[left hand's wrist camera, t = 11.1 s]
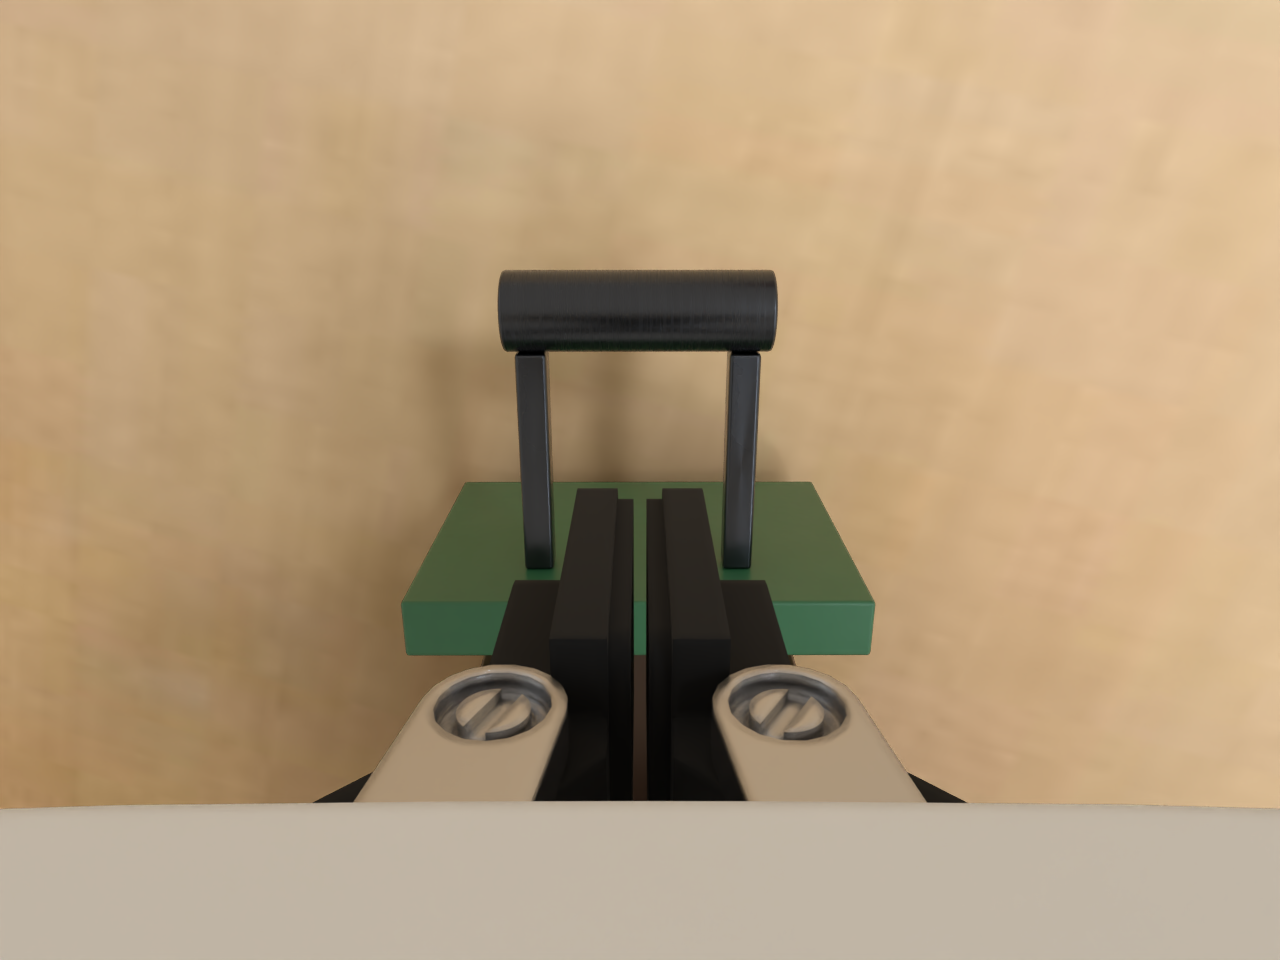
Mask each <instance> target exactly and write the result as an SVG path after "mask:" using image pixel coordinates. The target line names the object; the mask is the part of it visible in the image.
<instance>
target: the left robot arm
mask: <svg viewBox="0 0 1280 960" xmlns="http://www.w3.org/2000/svg"><path fill="white" fill-rule="evenodd" d="M633 744H634V499H618V488H578V489H577V493H576V498H575V503H574V509H573V514H572V519H571V525H570V530H569V535H568V541H567V546H566V551H565V557H564V562H563V567H562V573H561V578H560V580H515V581H514V583H513V586H512V589H511V593H510V596H509V600H508V603H507V606H506V610H505V613H504V617H503V620H502V623H501V627H500V630H499V633H498V637H497V640H496V644H495V647H494V650H493V654H492V657H491V661H490V664H489V666H483V667H477V668H471V669H468V670H465V671H462V672H460V673H457V674H454V675H451V676H449V677H448V678H446V679H444V680H443V681H441V682H439V683H438V684H436V685H434V686H433V687H432V688H431V689H430V690H429V691H428V692H427V694H426V695H425V696H424V697H423V698H422V699H421V701H420V702H419V704H418V705H417V707H416V708H415V710H414V711H413V713H412V714H411V716H410V717H409V719H408V720H407V722H406V723H405V725H404V726H403V728H402V729H401V731H400V732H399V734H398V735H397V737H396V738H395V740H394V741H393V743H392V744H391V746H390V747H389V749H388V750H387V752H386V753H385V755H384V756H383V758H382V760H381V761H380V763H379V764H378V766H377V767H376V769H375V770H374V772H372V773H370V774H368V775H366V776H364V777H362V778H360V779H358V780H356V781H354V782H352V783H351V784H349V785H347V786H345V787H343V788H341V789H339V790H337V791H335V792H333V793H331V794H329V795H327V796H325V797H323V798H321V799H319V800H317V801H315V802H313V803H272V804H180V805H110V806H78V807H46V808H15V809H0V960H1280V809H1271V808H1234V807H1197V806H1160V805H1124V804H1012V803H967V802H965V801H963V800H961V799H959V798H957V797H955V796H953V795H951V794H949V793H947V792H945V791H943V790H941V789H939V788H937V787H935V786H933V785H931V784H929V783H928V782H926V781H924V780H922V779H920V778H918V777H916V776H914V775H912V774H910V773H908V772H906V770H905V769H904V767H903V766H902V764H901V763H900V761H899V760H898V758H897V756H896V755H895V753H894V752H893V750H892V749H891V747H890V746H889V744H888V743H887V741H886V740H885V738H884V737H883V735H882V734H881V732H880V731H879V729H878V728H877V726H876V725H875V723H874V722H873V720H872V719H871V717H870V716H869V714H868V713H867V711H866V710H865V708H864V707H863V705H862V704H861V702H860V701H859V699H858V698H857V697H856V696H855V695H854V694H853V692H852V691H851V690H850V689H849V688H848V687H847V686H846V685H844V684H842V683H841V682H839V681H837V680H836V679H834V678H832V677H831V676H829V675H826V674H823V673H820V672H818V671H815V670H812V669H809V668H803V667H797V666H791V664H790V661H789V657H788V654H787V650H786V647H785V644H784V640H783V637H782V633H781V630H780V627H779V623H778V620H777V617H776V613H775V610H774V606H773V603H772V600H771V596H770V593H769V589H768V586H767V583H766V581H765V580H720V578H719V573H718V567H717V562H716V557H715V551H714V546H713V541H712V535H711V530H710V525H709V519H708V514H707V509H706V503H705V498H704V493H703V489H702V488H662V499H646V744H647V801H633Z"/></svg>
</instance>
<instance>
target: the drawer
mask: <svg viewBox="0 0 1280 960" xmlns="http://www.w3.org/2000/svg"><path fill="white" fill-rule="evenodd" d="M777 316H778V293H777V282H776V277H775V274H774V272H773V271H772V270H505V271H502V273H501V276H500V279H499V286H498V323H499V333H500V339H501V343H502V346H503V349H504V350H505V351H507V352H517V353H516V355H515V372H516V392H517V412H518V432H519V452H520V472H521V482H467V483H465V484H464V486H463V488H462V490H461V492H460V494H459V496H458V497H457V499H456V501H455V503H454V505H453V507H452V509H451V511H450V513H449V514H448V516H447V518H446V520H445V522H444V524H443V526H442V528H441V529H440V531H439V533H438V535H437V537H436V539H435V541H434V543H433V544H432V546H431V548H430V550H429V552H428V554H427V556H426V558H425V560H424V561H423V563H422V565H421V567H420V569H419V571H418V573H417V575H416V576H415V578H414V580H413V582H412V584H411V586H410V588H409V590H408V591H407V593H406V595H405V597H404V599H403V601H402V603H401V609H402V618H403V628H404V637H405V647H406V653H407V655H484V658H483V661H482V664H481V667H483V666H489V664H490V661H491V657H492V654H493V650H494V647H495V644H496V640H497V637H498V633H499V630H500V627H501V623H502V620H503V617H504V613H505V610H506V606H507V603H508V600H509V596H510V593H511V589H512V586H513V583H514V581H515V580H560V578H561V573H562V567H563V562H564V557H565V551H566V546H567V541H568V535H569V530H570V525H571V519H572V514H573V509H574V503H575V498H576V493H577V489H578V488H618V499H634V744H633V801H647V744H646V499H662V488H702V489H703V493H704V498H705V503H706V509H707V514H708V519H709V525H710V530H711V535H712V541H713V546H714V551H715V557H716V562H717V567H718V573H719V578H720V580H765V581H766V583H767V586H768V589H769V593H770V596H771V600H772V603H773V606H774V610H775V613H776V617H777V620H778V623H779V627H780V630H781V633H782V637H783V640H784V644H785V647H786V650H787V654H788V657H789V661H790V664H791V666H796V664H795V661H794V658H793V655H868V654H869V653H870V651H871V641H872V631H873V621H874V611H875V602H874V600H873V598H872V596H871V594H870V592H869V590H868V588H867V587H866V585H865V583H864V581H863V579H862V577H861V575H860V573H859V571H858V569H857V568H856V566H855V564H854V562H853V560H852V558H851V556H850V554H849V552H848V551H847V549H846V547H845V545H844V543H843V541H842V539H841V537H840V535H839V533H838V532H837V530H836V528H835V526H834V524H833V522H832V520H831V518H830V516H829V515H828V513H827V511H826V509H825V507H824V505H823V503H822V501H821V499H820V497H819V496H818V494H817V492H816V490H815V488H814V486H813V484H812V483H811V482H755V475H756V454H757V432H758V411H759V389H760V368H761V356H760V353H759V352H758V351H771V350H772V348H773V345H774V342H775V337H776V329H777ZM674 351H728V352H727V379H726V409H725V439H724V469H723V482H553V462H552V435H551V408H550V380H549V353H548V352H674Z"/></svg>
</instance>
